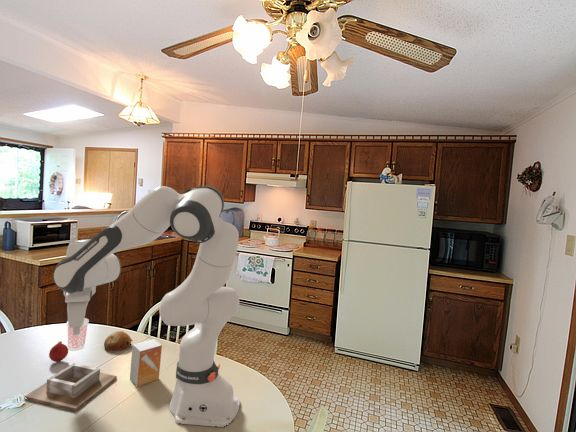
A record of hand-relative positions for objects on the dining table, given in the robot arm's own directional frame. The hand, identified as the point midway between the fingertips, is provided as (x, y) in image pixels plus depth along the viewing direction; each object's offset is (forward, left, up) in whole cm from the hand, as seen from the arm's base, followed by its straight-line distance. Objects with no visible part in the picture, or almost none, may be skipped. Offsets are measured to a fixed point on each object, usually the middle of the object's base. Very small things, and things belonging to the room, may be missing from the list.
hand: (77, 329), depth 106 cm
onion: (+17, -11, -21) cm, 29 cm away
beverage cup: (0, 0, -7) cm, 7 cm away
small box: (-18, -12, -21) cm, 30 cm away
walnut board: (0, 0, -21) cm, 20 cm away
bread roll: (+5, -29, -21) cm, 36 cm away
